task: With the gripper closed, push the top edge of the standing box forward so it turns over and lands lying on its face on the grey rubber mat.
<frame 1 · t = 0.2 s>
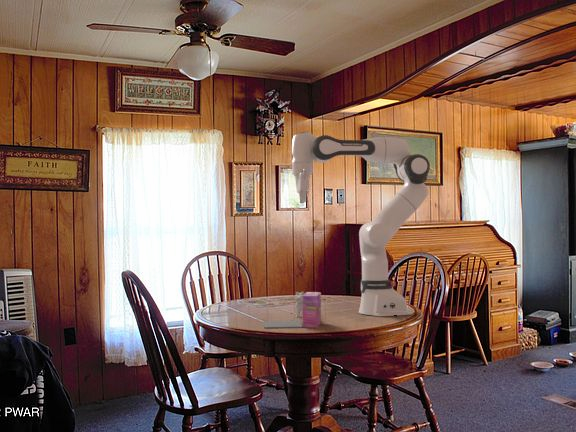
hand: (302, 202, 220), 47 cm above the table, fingers open, 8 cm apart
box: (312, 325, 195), on the table
dog figurine: (303, 316, 214), on the table
mat: (283, 324, 196), on the table
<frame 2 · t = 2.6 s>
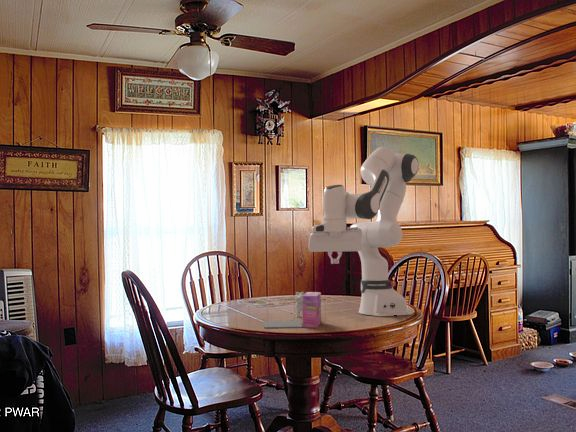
hand: (335, 263, 196), 23 cm above the table, fingers closed
nothing on the table moved.
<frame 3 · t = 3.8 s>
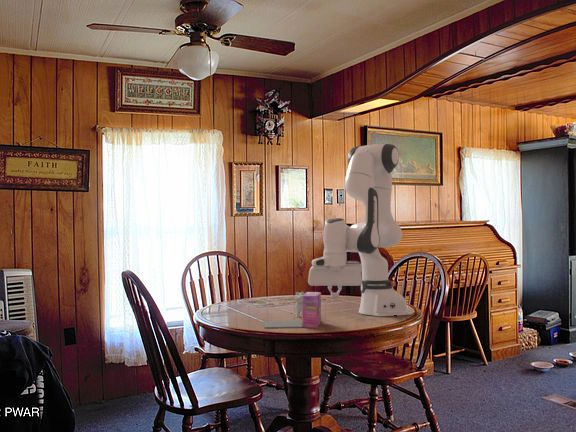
hand: (334, 297, 195), 10 cm above the table, fingers closed
nothing on the table moved.
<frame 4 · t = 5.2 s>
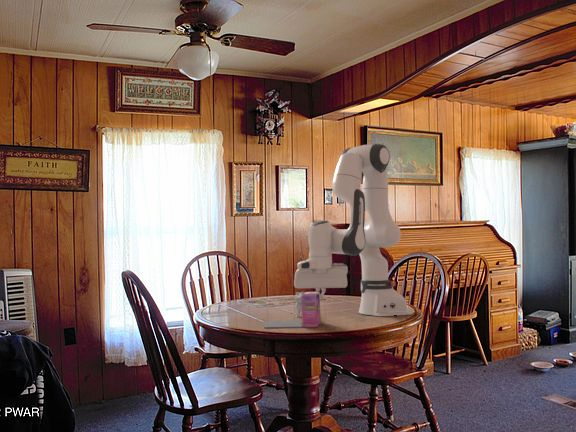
hand: (320, 299, 195), 9 cm above the table, fingers closed, pressing on box
box: (312, 325, 195), on the table, touching gripper
everything else where it was.
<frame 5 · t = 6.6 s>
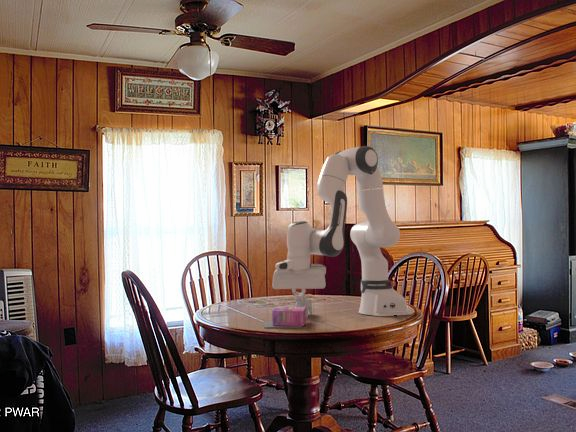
hand: (298, 300, 195), 9 cm above the table, fingers closed
box: (305, 316, 196), point 3 cm above the table, touching mat
everything else where it was.
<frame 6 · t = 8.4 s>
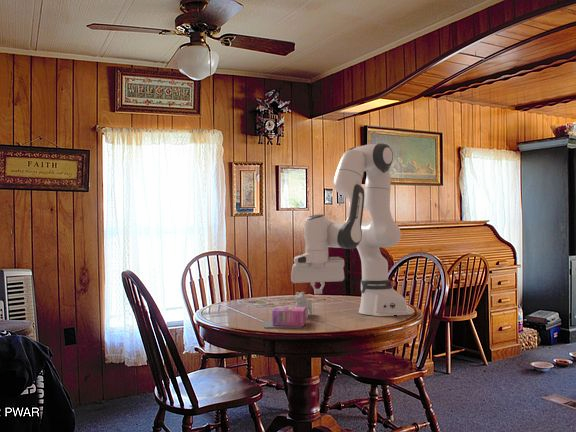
hand: (318, 293, 196), 12 cm above the table, fingers closed
nothing on the table moved.
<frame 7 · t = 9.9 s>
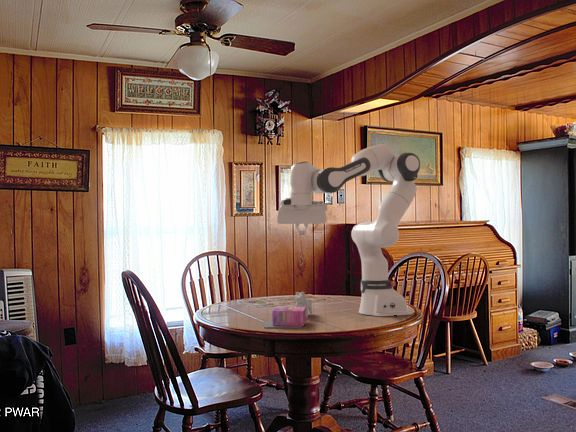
hand: (301, 235, 210), 34 cm above the table, fingers closed
nothing on the table moved.
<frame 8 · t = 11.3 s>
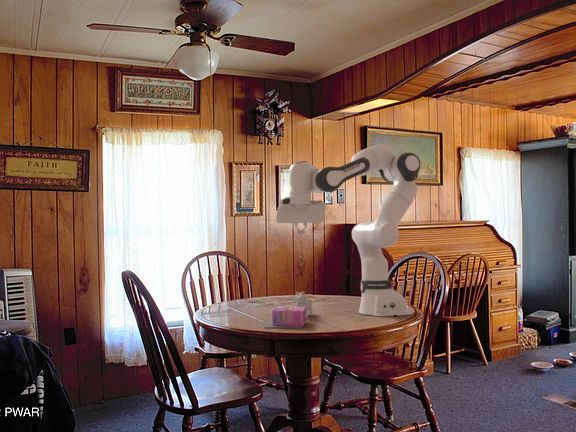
hand: (300, 234, 212), 34 cm above the table, fingers closed
nothing on the table moved.
at the end: box tilted 90°; box inside the target area (6.7 cm from its centre), point 3.3 cm above the table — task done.
